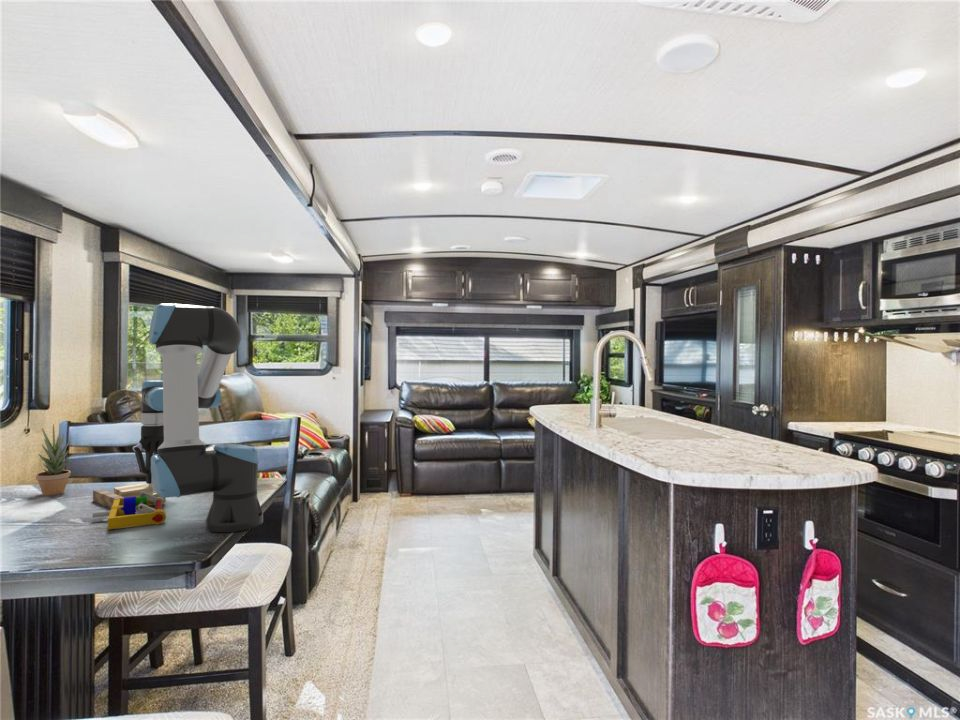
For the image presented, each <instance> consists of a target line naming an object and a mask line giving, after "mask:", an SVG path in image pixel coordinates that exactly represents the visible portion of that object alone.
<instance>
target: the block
mask: <svg viewBox="0 0 960 720" xmlns="http://www.w3.org/2000/svg"><path fill="white" fill-rule="evenodd" d="M142 491H144V492H147V493H149V494H151V495H154V493H153V487H151V486H149V484H147V483H144V482H143V483H137V484H130V485H124V486H123V485H122V486H121V485H120V486H116V487H115V486H114V487H113V493H114V494H116V495H119V496H122V497H134V496H140V493H141V492H142Z"/></svg>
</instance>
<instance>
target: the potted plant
mask: <svg viewBox="0 0 960 720" xmlns="http://www.w3.org/2000/svg"><path fill="white" fill-rule="evenodd" d="M41 430H42V433H43V436H44V438H43V440H44V444H45V446H44V444H41V447H42V449H43V451H44V452H45V453H46V455H47V457H48V458H47V457H43V456H42V455H41V454H38V456H39V457H40V459H41V460H42V461H44V463H42V465H43V466H44V468H43V470H44V471H42V472H39V473H36V474H35V480H36V481H37V482H38V485H39V487H40V491H41V493H42V495H43V494H44V495H43V496H55V495H54V494H57V495H61V494H63V493H65V491H66V487H67V484H68V479H69V477H70V476H71V473H72V472H71V470H69V469H65V467H66V466H67V465H68V464H69V463H70V462H71V461H72V460H73V458H71V457H70V456H68V457H67V458H66V456H67V455H68V453H69V451H70V450H67V451H66V449H67V447H68V446H69V442H67V443H66V445H65V446H64V448H63V447H62V446H63V443H64V439H65V434H63V435H62V437H61V440H60V438H59V437H57V438H56V435H55V432H56V431H55V425H54V423H52V442H51V441H50V439H49V437H48V435H47V433H46V431H45V430H44V428H43V427H42V429H41ZM62 448H63V449H62ZM65 458H66V459H65ZM64 459H65V460H64ZM45 468H46V469H45ZM60 493H61V494H60Z"/></svg>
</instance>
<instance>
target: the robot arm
mask: <svg viewBox="0 0 960 720" xmlns="http://www.w3.org/2000/svg"><path fill="white" fill-rule="evenodd" d="M150 321H151V322H150V325H149V332H148V333H149V334H148V342H149V343H150V344H151V345H155V351H156V352H157V353H158V354H159V355H160V356H161V357H162V380H156V379H155V380H153V379H152V380H151V379H150V380H144V381H143V382H141V383H142V384H141V411H140V412H141V414H140V415H141V416H140V424H141V427H140V440H139V443H138V444H136V445H133V446H132V447H131V450H132V451H133V452H134V454H135V458H136V463H137V466H138V471H139V472H140V473H142V474H145V484H146V485H149V486H151V487H153V494H158V495H159V496H160V497H163V498H180V497H184V496H193V495H199V494H201V495H202V494H206V493H207V494H208V493H213V494H212V497H213V498H212V502H211V505H210V508H209V510H208V512H207V513H208V514H207V516H206V519H205V529H206V531H210V532H212V533H236V532H242V531H243V532H244V531H246V530H251V529H255V528H257V527H259V526H261V525H263V523H264V513H263V511H262V507H261V504H260V501H259V497H258V475H259V473H258V467H259V457H258V456H259V455H258V450H257V448H255V447H253V446H250V445H245V444H237V443H218V444H214V446H213V449H212V450H207V445H206V443H205V442H204V441H202V440H201V438H200V415H199V413H200V412H199V409H205V410H206V409H212V408H218V407H219V406H220V405H221V400H222V392H221V388H219V387H220V384H221V381H222V379H223V377H224V373H225V372H226V370H227V366H228V365H229V362H230V359H231V357H232V355H233V354H235V353H236V352H237V351H238V349H239V347H240V344H241V340H242V333H241V328H240V325H239V323H238V322H237V320H236V319H235V318H234V317H233V315H231V314H230V313H229V312H228V311H226V310H225V309H223V308H219V307H218V306H216V307H215V306H212V305H211V306H205V305H197V304H196V305H195V304H182V303H175V302H174V303H159V304H157V305H156V306H155V308H154V309H153V313H152V316H151V320H150ZM204 346H206V347H205V351H204V353H203V357H202V359H201V362H200V365H199V367H198V355H200V354H201V353H202V352H203V350H204V349H203V348H204ZM142 449H143V450H144V453H145V460H144V456H143V452H142Z"/></svg>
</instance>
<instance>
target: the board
mask: <svg viewBox="0 0 960 720" xmlns="http://www.w3.org/2000/svg"><path fill="white" fill-rule="evenodd" d="M122 498H124V497H122V496H119V495H116V494H114V492H111V491H107V490H105V489H103V488H98V489H93V491H92V501H93V502H95V503H97V504H100V505H102V506H105V507H108V508H109V509H111V508H112V505H113V503H114V500H115V499H122Z"/></svg>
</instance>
